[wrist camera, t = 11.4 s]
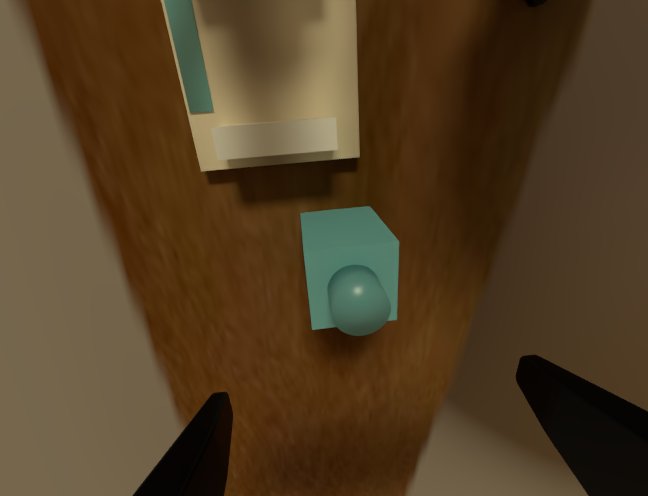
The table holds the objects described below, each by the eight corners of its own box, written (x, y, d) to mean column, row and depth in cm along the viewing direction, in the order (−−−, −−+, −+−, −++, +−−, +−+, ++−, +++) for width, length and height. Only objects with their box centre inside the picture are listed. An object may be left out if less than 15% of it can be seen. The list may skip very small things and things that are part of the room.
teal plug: (369, 206, 20) (414, 260, 13) (370, 267, 22) (409, 345, 14) (300, 212, 20) (305, 272, 12) (307, 274, 21) (314, 358, 14)
